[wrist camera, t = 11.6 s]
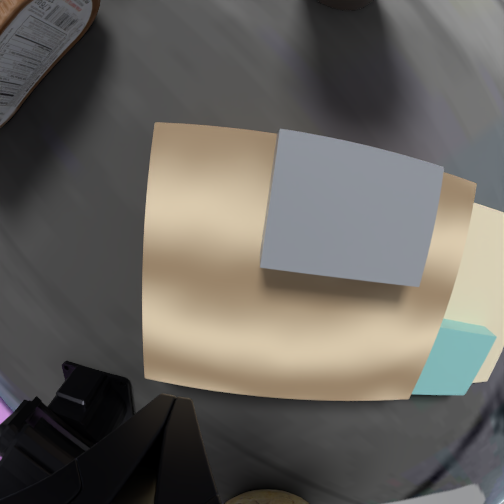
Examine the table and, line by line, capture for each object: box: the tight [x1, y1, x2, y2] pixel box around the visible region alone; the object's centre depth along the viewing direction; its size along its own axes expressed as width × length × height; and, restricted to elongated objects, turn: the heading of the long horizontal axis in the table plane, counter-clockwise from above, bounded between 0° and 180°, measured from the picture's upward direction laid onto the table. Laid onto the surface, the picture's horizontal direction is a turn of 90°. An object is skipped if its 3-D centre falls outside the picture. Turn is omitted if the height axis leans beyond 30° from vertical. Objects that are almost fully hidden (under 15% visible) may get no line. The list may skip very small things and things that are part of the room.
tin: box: [0, 0, 100, 128], centre depth 12 cm, size 15×3×8 cm, turn 128°
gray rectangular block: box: [260, 129, 444, 287], centre depth 14 cm, size 6×8×2 cm
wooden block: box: [142, 122, 477, 401], centre depth 18 cm, size 15×18×4 cm
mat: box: [444, 203, 504, 383], centre depth 21 cm, size 16×13×1 cm
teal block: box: [412, 318, 497, 395], centre depth 21 cm, size 6×8×2 cm
